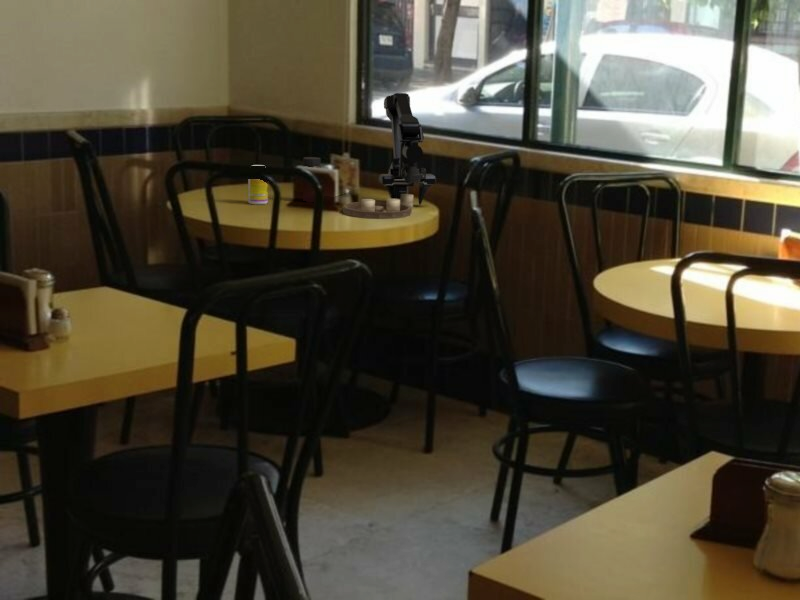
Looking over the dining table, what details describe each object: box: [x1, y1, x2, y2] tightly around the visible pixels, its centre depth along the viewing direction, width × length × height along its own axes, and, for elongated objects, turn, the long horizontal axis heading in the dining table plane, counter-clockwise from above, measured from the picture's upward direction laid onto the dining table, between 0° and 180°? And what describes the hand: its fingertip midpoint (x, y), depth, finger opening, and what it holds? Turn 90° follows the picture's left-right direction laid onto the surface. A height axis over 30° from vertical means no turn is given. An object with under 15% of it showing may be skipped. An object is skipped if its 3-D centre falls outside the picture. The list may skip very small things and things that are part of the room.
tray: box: [342, 201, 413, 220], centre depth 422 cm, size 22×22×3 cm
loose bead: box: [400, 193, 414, 209], centre depth 435 cm, size 4×4×5 cm
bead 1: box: [360, 198, 376, 212], centre depth 416 cm, size 4×4×5 cm
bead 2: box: [386, 198, 400, 212], centre depth 418 cm, size 4×4×5 cm
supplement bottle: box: [247, 164, 269, 206], centre depth 437 cm, size 7×7×13 cm
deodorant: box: [302, 156, 322, 167], centre depth 444 cm, size 6×6×15 cm
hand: (406, 204), depth 435 cm, fingers open, 9 cm apart
